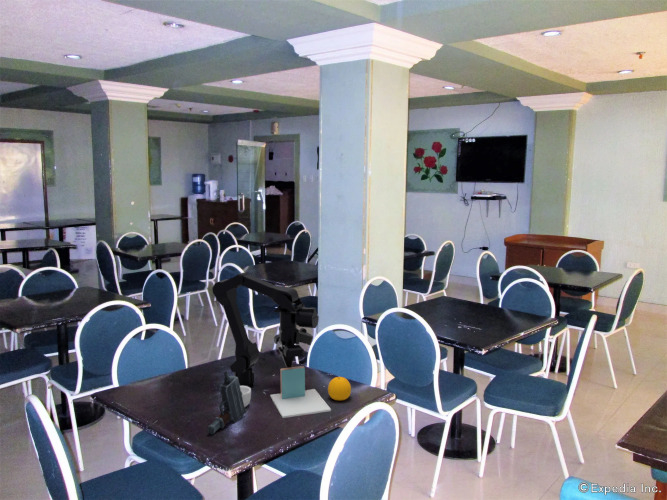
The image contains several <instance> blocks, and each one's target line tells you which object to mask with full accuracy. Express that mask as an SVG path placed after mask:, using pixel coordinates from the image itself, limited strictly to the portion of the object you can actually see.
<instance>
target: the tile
mask: <svg viewBox="0 0 667 500" xmlns="http://www.w3.org/2000/svg"><path fill="white" fill-rule="evenodd" d="M279 372H280V374H279V375H280V393H281V398H282V399H287V398H295V397H302V396H305V390H306V369H305V366H304V365H302V366H301V365H300V366H291V368H287V367H285V368H280V371H279Z"/></svg>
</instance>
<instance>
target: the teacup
mask: <svg viewBox="0 0 667 500" xmlns="http://www.w3.org/2000/svg"><path fill="white" fill-rule="evenodd" d="M240 389H241V392H242V398H243V403H244V407H245V408H246V407H247V406H248V405H249V404H250V402H251V398H252V387H247V386H240Z"/></svg>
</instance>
